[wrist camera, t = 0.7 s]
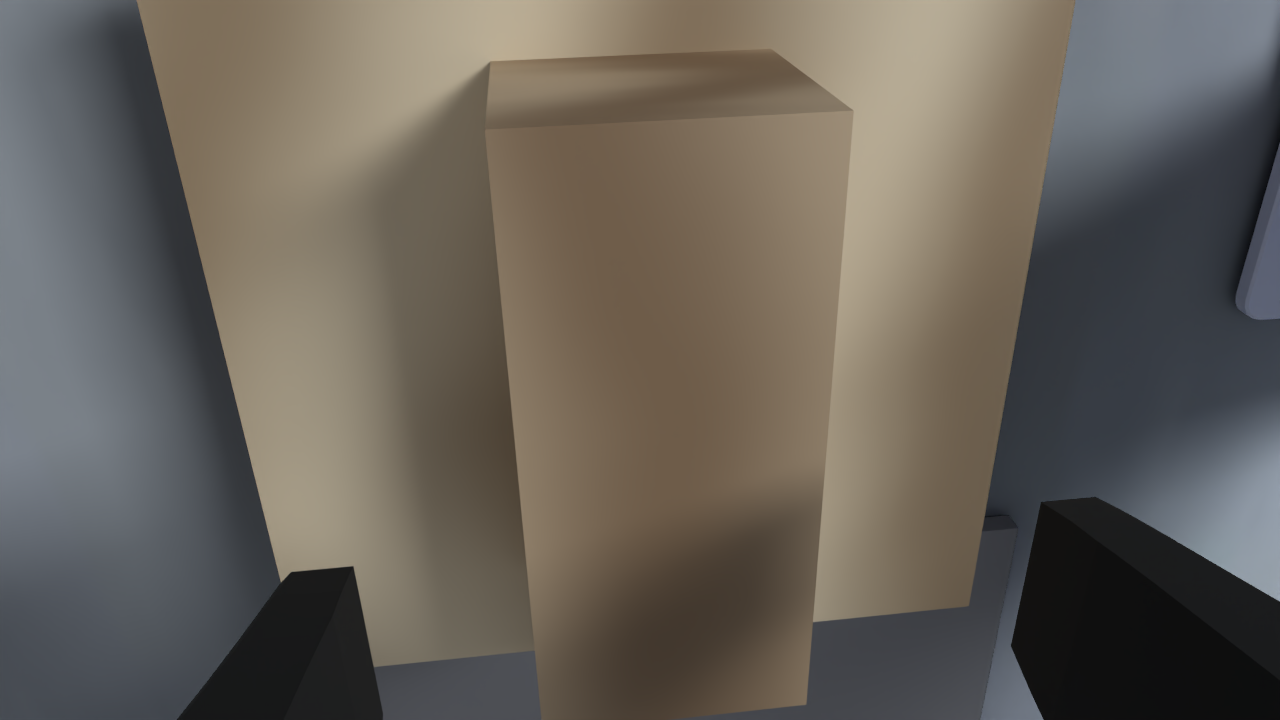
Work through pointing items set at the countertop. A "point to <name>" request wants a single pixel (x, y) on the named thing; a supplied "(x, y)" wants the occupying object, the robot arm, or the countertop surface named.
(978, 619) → the charcoal mat
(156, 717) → the countertop surface
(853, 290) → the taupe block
